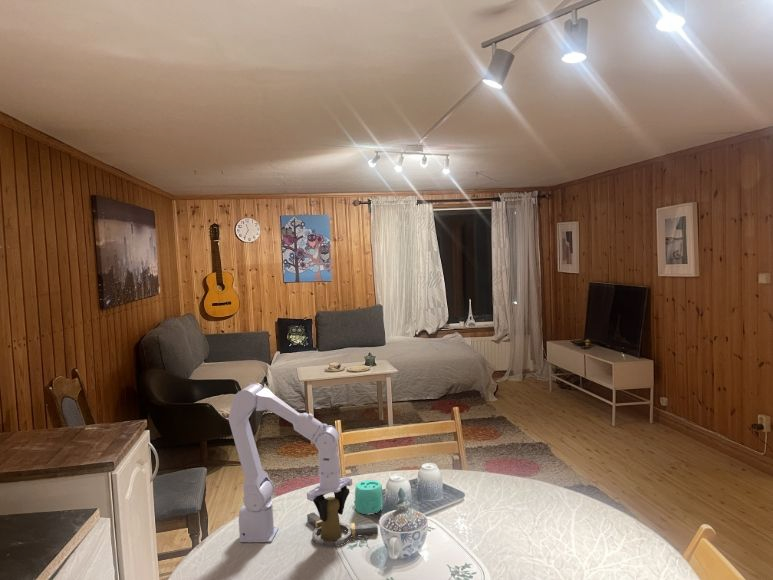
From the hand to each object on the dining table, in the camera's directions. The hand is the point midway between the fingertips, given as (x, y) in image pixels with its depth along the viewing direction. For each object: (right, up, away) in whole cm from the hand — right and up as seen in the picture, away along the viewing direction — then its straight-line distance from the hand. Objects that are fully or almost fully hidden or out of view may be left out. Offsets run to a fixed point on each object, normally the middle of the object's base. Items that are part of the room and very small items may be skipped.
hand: (331, 516), depth 161 cm
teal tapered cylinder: (+10, -5, +17) cm, 20 cm away
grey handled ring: (+2, -6, +3) cm, 7 cm away
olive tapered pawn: (0, -6, +1) cm, 6 cm away
